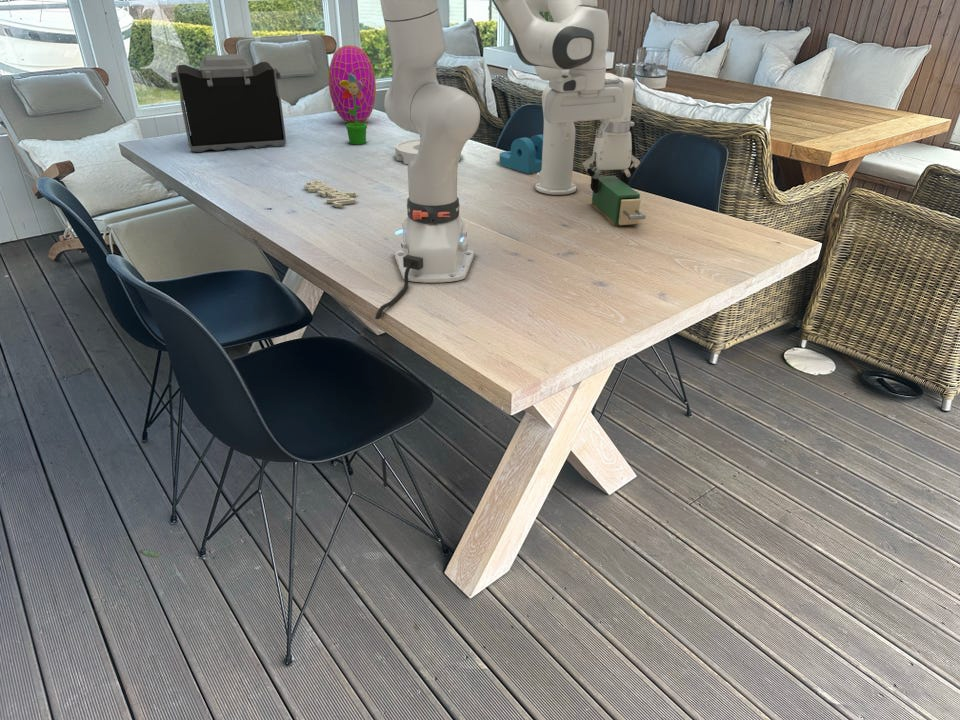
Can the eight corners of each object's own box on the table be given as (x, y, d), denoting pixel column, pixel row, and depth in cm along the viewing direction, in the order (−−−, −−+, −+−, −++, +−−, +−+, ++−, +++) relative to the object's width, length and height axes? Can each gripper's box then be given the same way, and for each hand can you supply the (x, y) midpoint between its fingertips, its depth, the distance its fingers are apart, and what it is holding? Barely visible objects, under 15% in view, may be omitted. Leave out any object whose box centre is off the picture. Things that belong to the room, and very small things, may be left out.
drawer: (645, 230, 179) (648, 205, 176) (627, 231, 178) (630, 207, 175) (613, 204, 198) (616, 181, 195) (597, 205, 197) (599, 182, 194)
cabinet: (636, 224, 186) (640, 194, 181) (614, 226, 184) (618, 195, 180) (611, 203, 201) (614, 175, 197) (591, 204, 200) (594, 176, 196)
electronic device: (283, 133, 274) (272, 51, 259) (291, 146, 256) (280, 59, 241) (185, 140, 262) (168, 54, 247) (186, 153, 245) (167, 62, 229)
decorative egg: (362, 116, 305) (357, 42, 290) (386, 123, 292) (382, 46, 277) (324, 121, 294) (316, 45, 279) (347, 129, 281) (340, 49, 266)
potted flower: (342, 144, 260) (336, 73, 247) (351, 139, 266) (346, 70, 254) (365, 146, 257) (360, 74, 245) (374, 141, 264) (369, 71, 251)
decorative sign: (368, 198, 199) (337, 205, 193) (368, 202, 199) (337, 208, 194) (326, 178, 217) (297, 183, 211) (326, 181, 217) (297, 186, 212)
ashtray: (454, 167, 232) (454, 155, 230) (388, 164, 235) (387, 152, 233) (466, 151, 252) (466, 140, 250) (404, 148, 255) (404, 137, 253)
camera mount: (550, 168, 233) (552, 137, 227) (527, 173, 227) (529, 141, 222) (515, 157, 245) (516, 127, 239) (493, 162, 239) (493, 131, 234)
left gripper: (619, 75, 171) (613, 132, 178) (542, 80, 165) (540, 139, 173) (631, 79, 166) (625, 138, 173) (553, 84, 160) (550, 145, 167)
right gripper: (639, 122, 190) (632, 185, 199) (580, 125, 187) (575, 188, 196) (651, 128, 184) (642, 193, 193) (589, 130, 181) (583, 196, 189)
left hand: (582, 138), depth 173 cm, fingers open, 8 cm apart
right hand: (608, 190), depth 194 cm, fingers open, 7 cm apart
